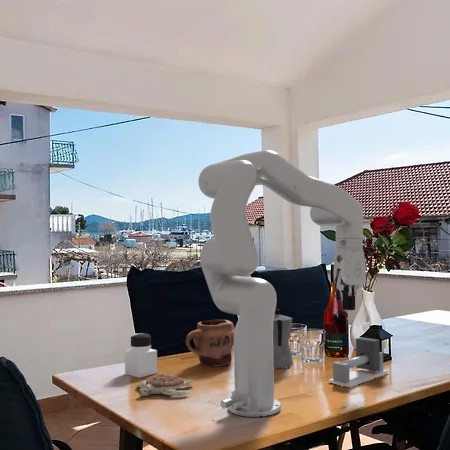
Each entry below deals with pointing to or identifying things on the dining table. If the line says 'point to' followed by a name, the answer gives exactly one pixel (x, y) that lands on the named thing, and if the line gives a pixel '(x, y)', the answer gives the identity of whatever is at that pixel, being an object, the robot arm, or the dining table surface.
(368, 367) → the dark grey sliding block
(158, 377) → the decorative turtle
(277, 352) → the coffeepot
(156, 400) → the dining table surface
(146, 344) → the medicine bottle
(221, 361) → the brown clay mug
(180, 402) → the dining table surface
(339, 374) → the pipe rig
